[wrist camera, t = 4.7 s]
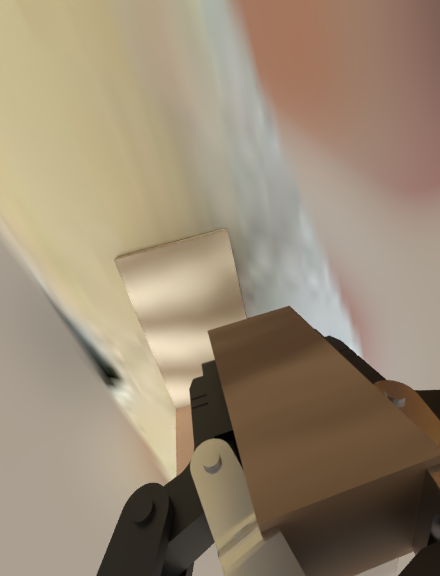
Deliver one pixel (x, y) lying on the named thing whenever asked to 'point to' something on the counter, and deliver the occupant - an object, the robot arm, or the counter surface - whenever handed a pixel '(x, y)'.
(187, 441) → the tile
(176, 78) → the counter surface
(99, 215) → the counter surface
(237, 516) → the robot arm
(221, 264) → the board
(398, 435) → the brown block
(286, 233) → the counter surface
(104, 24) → the counter surface
